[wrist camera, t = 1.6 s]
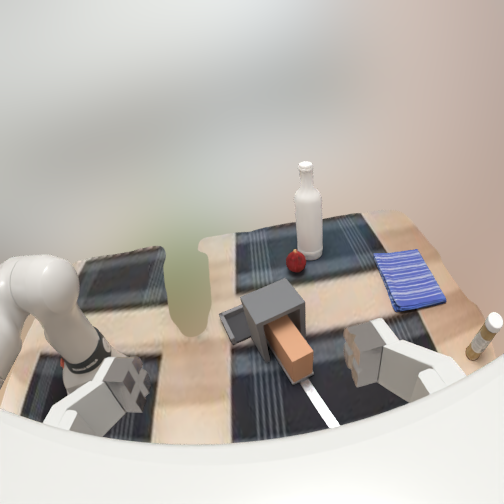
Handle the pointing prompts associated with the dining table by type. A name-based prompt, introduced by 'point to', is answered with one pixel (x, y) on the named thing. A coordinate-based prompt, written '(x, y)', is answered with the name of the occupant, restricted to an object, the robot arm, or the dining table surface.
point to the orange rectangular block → (289, 349)
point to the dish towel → (408, 280)
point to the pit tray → (235, 324)
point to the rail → (319, 403)
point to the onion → (296, 261)
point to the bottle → (308, 214)
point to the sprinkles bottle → (484, 336)
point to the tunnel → (272, 311)
